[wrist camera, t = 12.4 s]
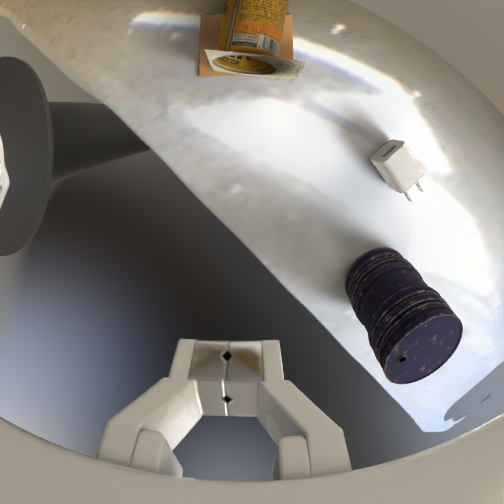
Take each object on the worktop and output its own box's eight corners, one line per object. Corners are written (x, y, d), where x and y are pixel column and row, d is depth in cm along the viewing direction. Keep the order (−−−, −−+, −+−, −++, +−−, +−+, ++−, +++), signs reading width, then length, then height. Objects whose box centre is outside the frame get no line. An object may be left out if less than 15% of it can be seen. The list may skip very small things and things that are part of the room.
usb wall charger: (390, 139, 29) (406, 141, 25) (418, 182, 31) (435, 190, 27) (368, 159, 30) (382, 164, 26) (397, 201, 32) (413, 211, 28)
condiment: (213, 72, 25) (232, -12, 21) (292, 83, 26) (305, -1, 22) (203, 51, 19) (229, -44, 14) (305, 66, 19) (319, -31, 15)
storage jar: (410, 243, 34) (474, 304, 21) (402, 301, 38) (447, 370, 25) (345, 251, 35) (393, 326, 21) (342, 313, 39) (375, 393, 25)
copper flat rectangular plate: (292, 76, 26) (293, 75, 26) (199, 76, 26) (199, 76, 25) (291, 15, 22) (292, 14, 22) (201, 16, 22) (200, 15, 22)
